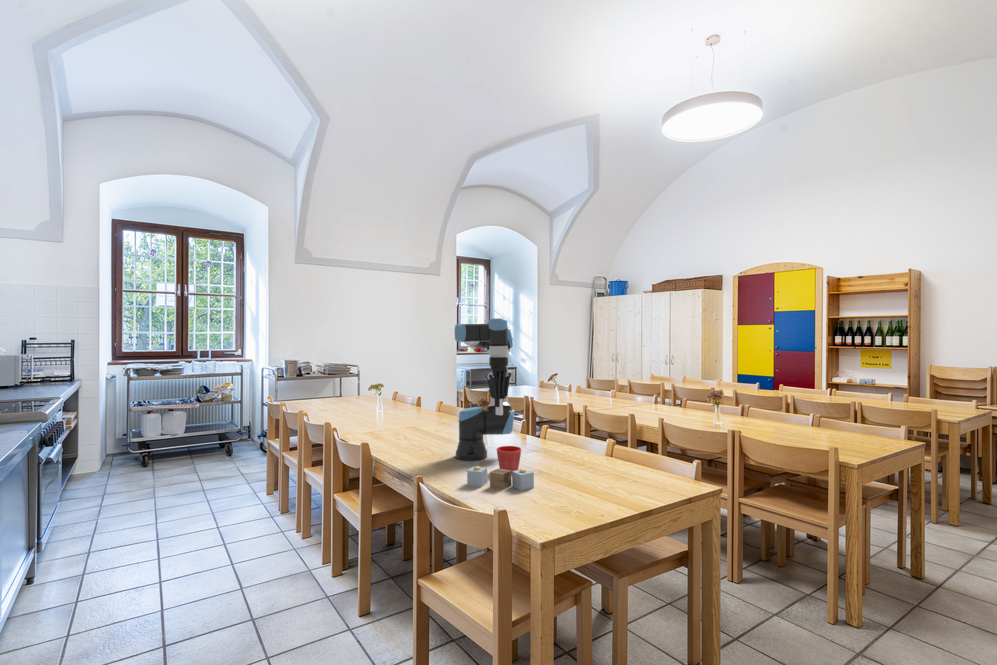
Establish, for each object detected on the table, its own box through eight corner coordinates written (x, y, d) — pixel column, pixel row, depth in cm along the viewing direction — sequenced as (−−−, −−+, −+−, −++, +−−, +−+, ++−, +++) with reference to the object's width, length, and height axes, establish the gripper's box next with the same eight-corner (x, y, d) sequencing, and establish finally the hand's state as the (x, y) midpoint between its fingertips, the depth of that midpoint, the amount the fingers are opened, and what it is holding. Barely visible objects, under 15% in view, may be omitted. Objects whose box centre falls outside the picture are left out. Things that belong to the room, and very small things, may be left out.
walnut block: (498, 483, 199) (498, 468, 199) (511, 485, 195) (511, 470, 195) (490, 487, 194) (489, 472, 194) (503, 490, 190) (502, 474, 190)
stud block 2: (525, 484, 197) (524, 466, 197) (533, 488, 192) (533, 470, 192) (512, 486, 194) (512, 469, 194) (520, 490, 189) (520, 472, 189)
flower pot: (522, 467, 221) (521, 445, 221) (520, 474, 210) (520, 451, 210) (498, 467, 222) (497, 445, 222) (495, 474, 211) (495, 451, 211)
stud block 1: (473, 481, 201) (472, 464, 201) (487, 482, 200) (486, 465, 200) (467, 486, 196) (467, 468, 196) (481, 487, 194) (481, 469, 194)
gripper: (502, 355, 210) (503, 411, 210) (480, 357, 201) (481, 415, 201) (516, 355, 205) (517, 413, 205) (494, 357, 195) (494, 417, 195)
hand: (499, 414), depth 203 cm, fingers closed
